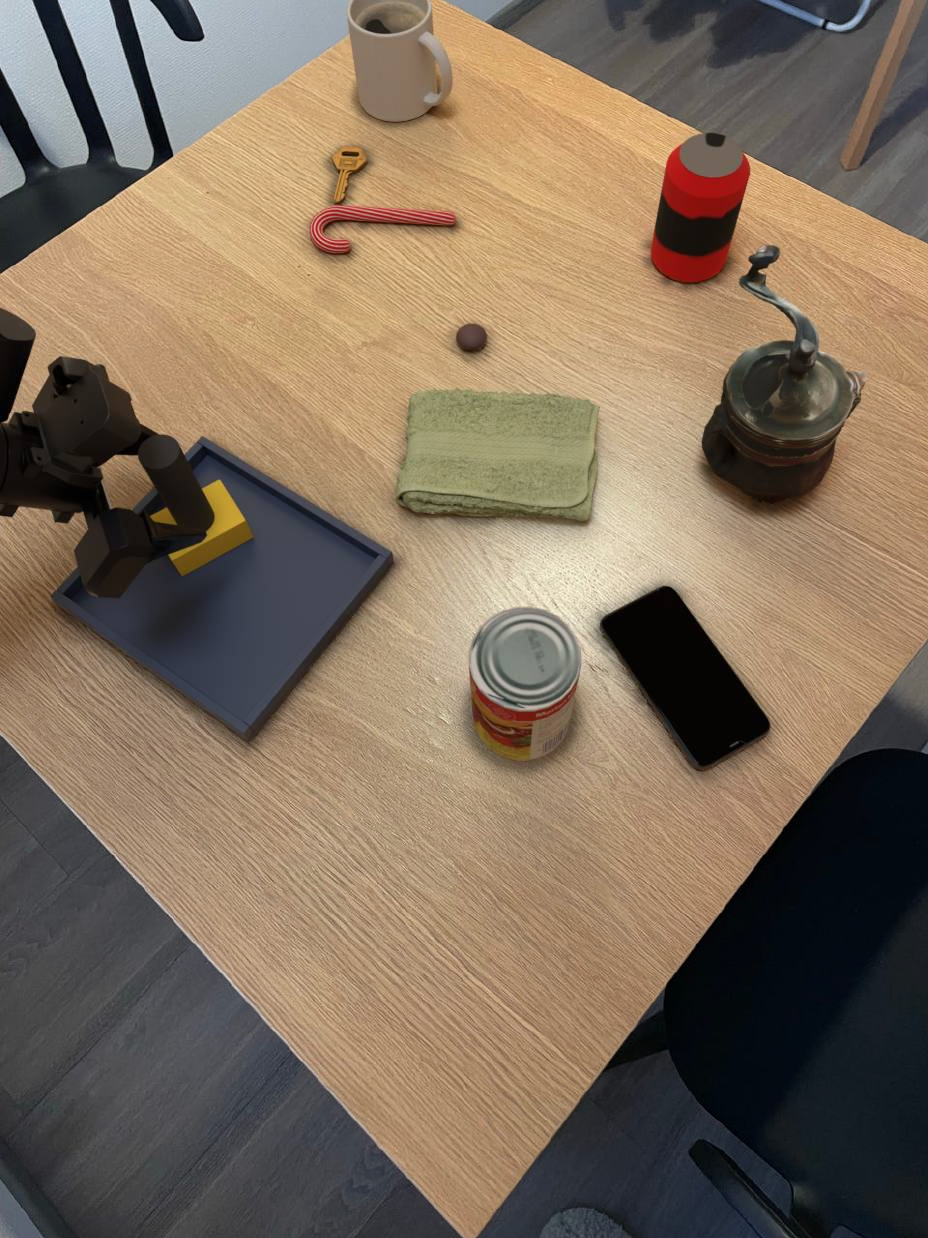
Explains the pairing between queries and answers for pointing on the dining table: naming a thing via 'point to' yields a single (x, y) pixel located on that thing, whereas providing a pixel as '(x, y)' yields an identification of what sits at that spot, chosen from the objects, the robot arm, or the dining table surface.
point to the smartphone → (684, 677)
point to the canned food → (523, 681)
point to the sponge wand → (192, 504)
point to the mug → (397, 58)
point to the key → (347, 168)
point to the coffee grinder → (779, 406)
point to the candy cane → (370, 215)
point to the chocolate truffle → (471, 336)
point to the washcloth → (499, 454)
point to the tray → (239, 598)
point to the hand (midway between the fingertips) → (188, 492)
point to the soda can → (699, 207)
